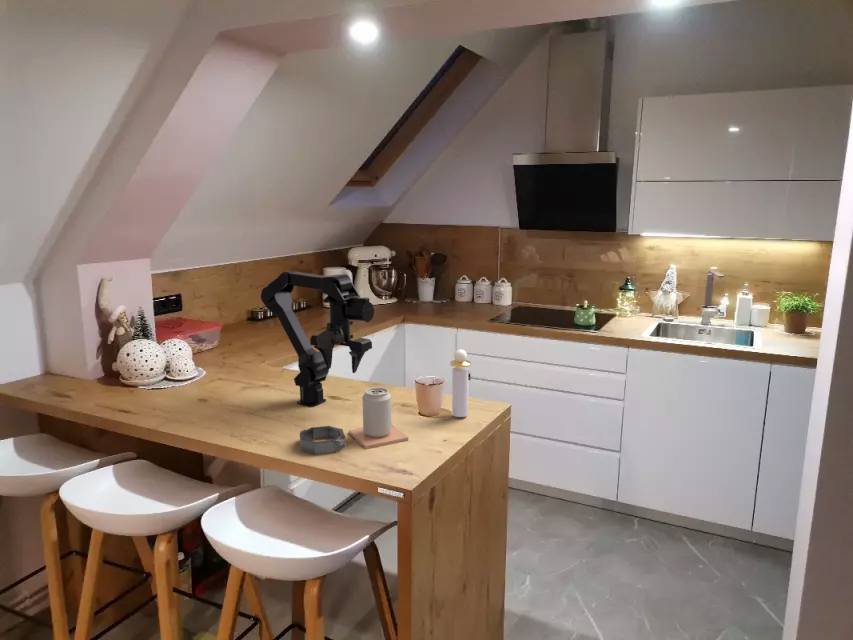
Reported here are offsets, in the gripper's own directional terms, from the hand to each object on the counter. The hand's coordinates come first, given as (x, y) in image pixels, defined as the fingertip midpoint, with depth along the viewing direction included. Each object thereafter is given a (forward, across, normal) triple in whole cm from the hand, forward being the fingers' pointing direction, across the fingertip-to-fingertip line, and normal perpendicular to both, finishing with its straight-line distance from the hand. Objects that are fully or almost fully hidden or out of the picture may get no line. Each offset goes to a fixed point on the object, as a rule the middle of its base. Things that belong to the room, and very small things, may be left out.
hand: (341, 370), depth 189 cm
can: (+12, +21, -12) cm, 27 cm away
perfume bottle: (+12, +33, +12) cm, 37 cm away
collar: (+12, +12, -24) cm, 29 cm away
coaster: (+12, +21, -12) cm, 27 cm away
